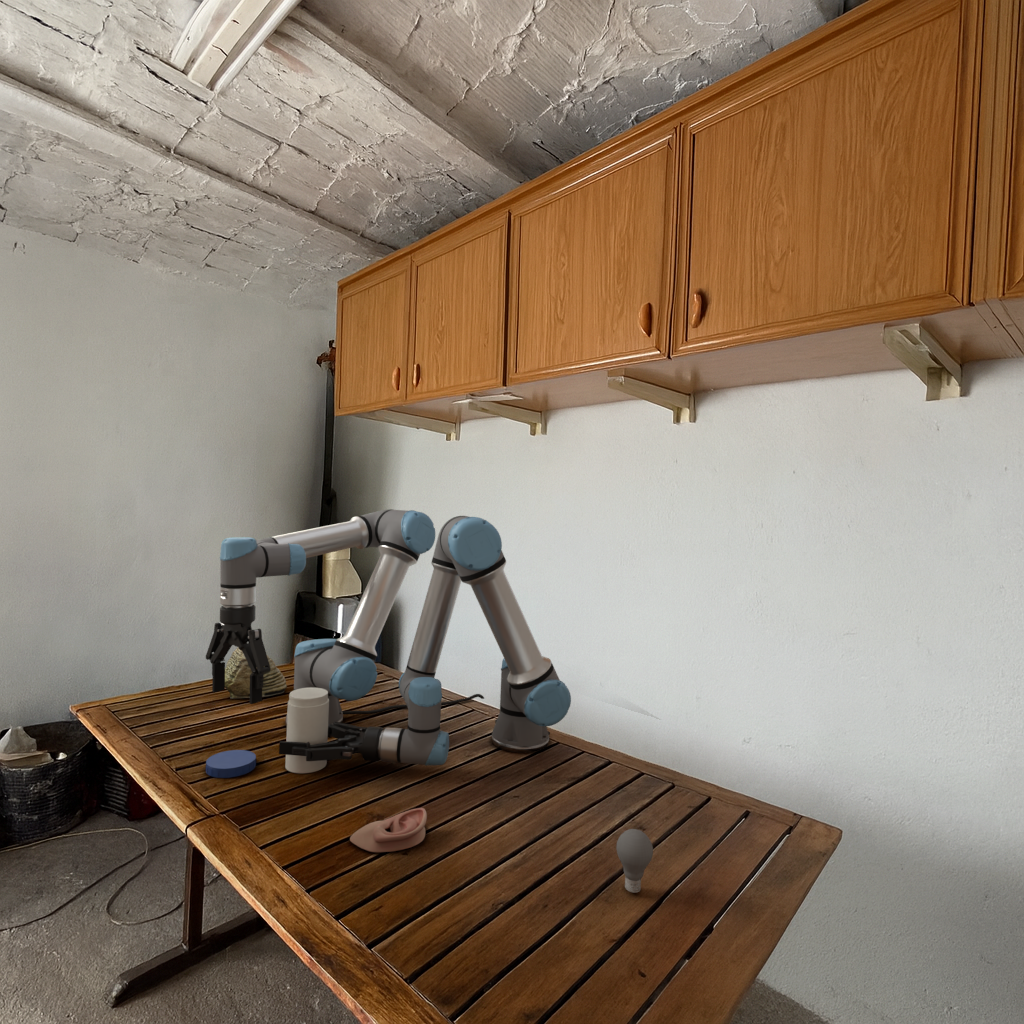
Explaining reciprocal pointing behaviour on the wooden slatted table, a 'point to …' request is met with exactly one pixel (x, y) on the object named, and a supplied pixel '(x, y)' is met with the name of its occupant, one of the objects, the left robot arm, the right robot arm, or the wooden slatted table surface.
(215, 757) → the lid
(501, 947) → the wooden slatted table surface
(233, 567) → the left robot arm
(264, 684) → the fossil
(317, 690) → the jar
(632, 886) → the light bulb
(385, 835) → the anatomical model
